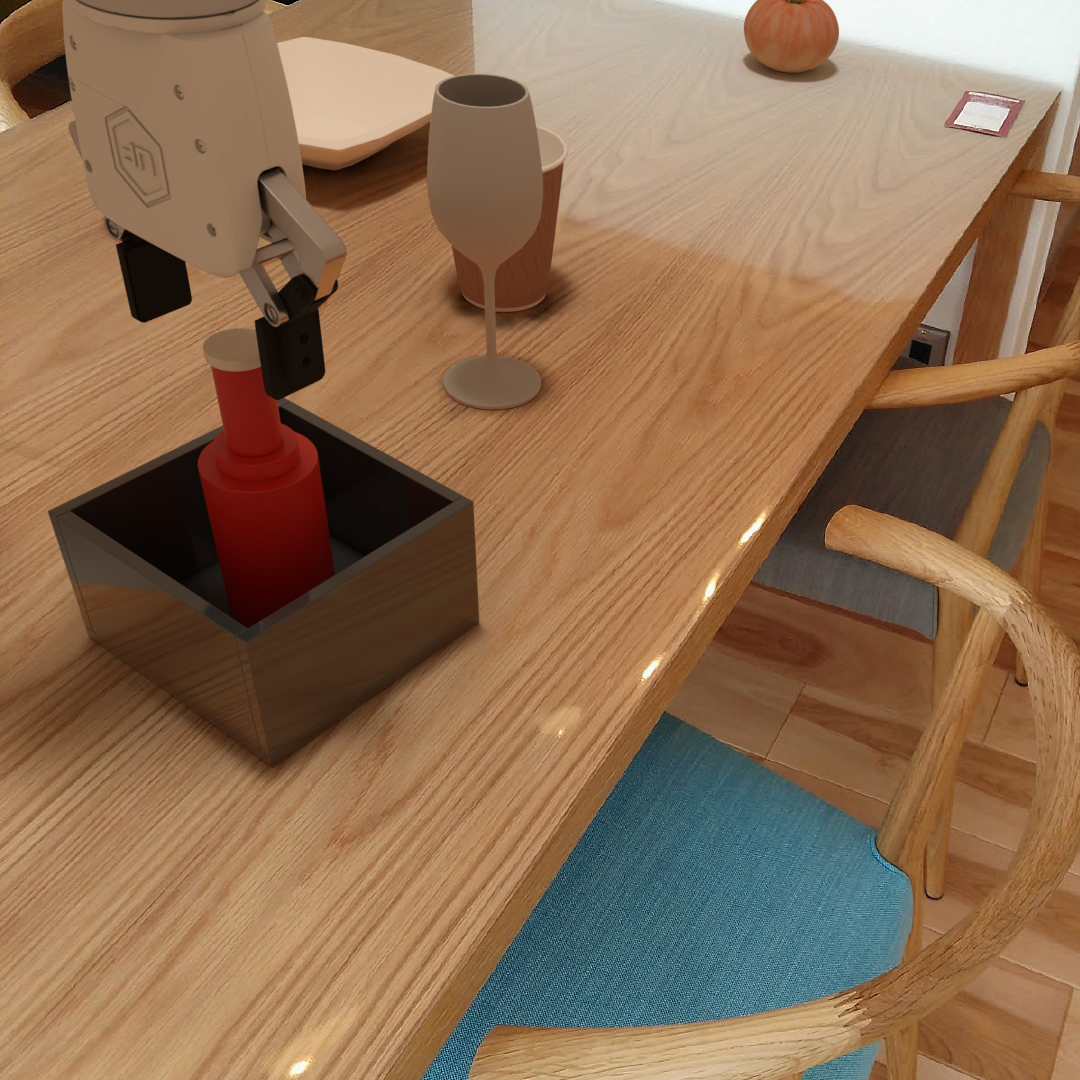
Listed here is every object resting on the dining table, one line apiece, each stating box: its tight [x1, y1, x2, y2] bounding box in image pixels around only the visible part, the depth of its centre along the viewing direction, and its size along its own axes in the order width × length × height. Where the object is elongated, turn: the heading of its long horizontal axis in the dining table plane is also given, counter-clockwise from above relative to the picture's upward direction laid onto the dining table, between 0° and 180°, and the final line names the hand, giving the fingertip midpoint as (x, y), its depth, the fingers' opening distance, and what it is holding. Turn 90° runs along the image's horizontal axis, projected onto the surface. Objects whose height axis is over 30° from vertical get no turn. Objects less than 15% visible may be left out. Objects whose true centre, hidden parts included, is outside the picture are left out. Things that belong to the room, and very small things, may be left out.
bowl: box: [277, 36, 455, 171], centre depth 123 cm, size 22×23×6 cm
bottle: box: [198, 327, 335, 629], centre depth 69 cm, size 6×6×18 cm
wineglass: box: [426, 73, 543, 411], centre depth 90 cm, size 8×8×21 cm
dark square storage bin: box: [47, 397, 480, 768], centre depth 73 cm, size 16×16×9 cm
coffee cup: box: [451, 124, 569, 313], centre depth 103 cm, size 10×10×12 cm
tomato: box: [743, 0, 840, 74], centre depth 148 cm, size 11×11×8 cm
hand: (227, 348), depth 64 cm, fingers open, 9 cm apart
